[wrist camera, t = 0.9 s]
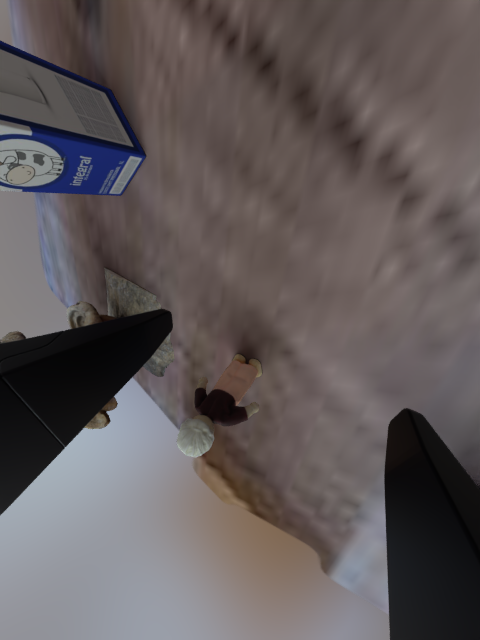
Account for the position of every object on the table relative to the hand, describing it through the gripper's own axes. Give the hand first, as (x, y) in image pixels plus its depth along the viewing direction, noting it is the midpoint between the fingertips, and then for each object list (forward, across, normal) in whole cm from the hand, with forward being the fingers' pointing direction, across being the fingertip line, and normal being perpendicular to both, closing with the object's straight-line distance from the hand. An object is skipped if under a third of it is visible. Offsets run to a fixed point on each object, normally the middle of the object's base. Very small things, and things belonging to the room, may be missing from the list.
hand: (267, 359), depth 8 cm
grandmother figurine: (+13, +4, +16) cm, 21 cm away
